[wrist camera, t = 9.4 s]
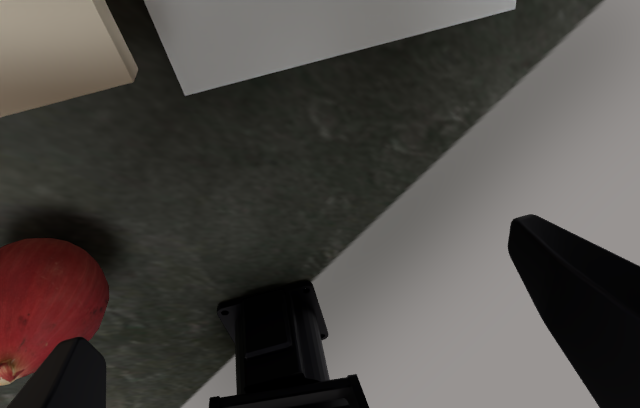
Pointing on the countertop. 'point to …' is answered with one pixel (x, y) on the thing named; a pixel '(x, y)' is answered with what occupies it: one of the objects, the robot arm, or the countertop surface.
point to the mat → (290, 32)
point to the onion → (45, 301)
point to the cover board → (59, 52)
